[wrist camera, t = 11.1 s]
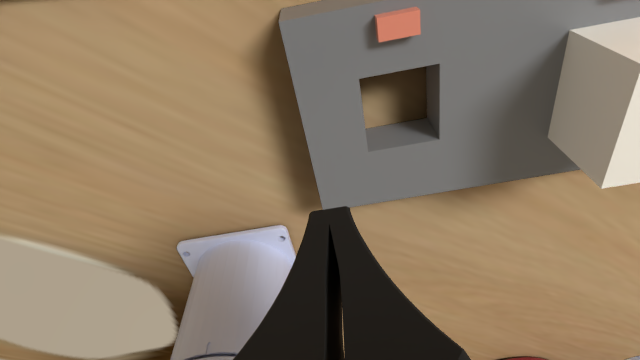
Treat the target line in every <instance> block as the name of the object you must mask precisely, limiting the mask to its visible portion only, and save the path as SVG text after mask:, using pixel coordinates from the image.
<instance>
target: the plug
mask: <svg viewBox="0 0 640 360" xmlns="http://www.w3.org/2000/svg"><path fill="white" fill-rule="evenodd" d="M548 138H549V139H550V140H551V141H552V142H553V143H554V144H555V145H556V146H557V147H558V148H559V149H560V150H561V151H562V152H563V153H565V154H566V155H567V156H568V157H569V158H570V159H571V160H572V161H573V162H574V163H575V164H576V165H577V166H578V167H579V168H580V169H581V170H582V171H583V172H584V173H585V174H586V175H588V176H589V177H590V178H591V179H592V180H593V181H594V182H595V183H596V184H597V185H598V186H599V187H600V188H608V187H614V186H621V185H627V184H633V183H640V17H637V18H632V19H626V20H621V21H615V22H610V23H605V24H599V25H594V26H589V27H583V28H578V29H573V30H570V31H569V36H568V41H567V45H566V50H565V55H564V60H563V65H562V70H561V75H560V79H559V84H558V89H557V94H556V99H555V104H554V109H553V113H552V118H551V123H550V128H549V133H548Z"/></svg>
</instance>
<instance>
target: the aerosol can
mask: <svg viewBox="0 0 640 360" xmlns="http://www.w3.org/2000/svg"><path fill="white" fill-rule="evenodd" d="M626 360H640V356H637V357H633V358H629V359H626Z"/></svg>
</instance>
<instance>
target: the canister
mask: <svg viewBox="0 0 640 360" xmlns="http://www.w3.org/2000/svg"><path fill="white" fill-rule="evenodd" d="M504 360H547V359H542V358H535V357H519V358H510V359H504Z"/></svg>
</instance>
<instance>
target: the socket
mask: <svg viewBox="0 0 640 360" xmlns="http://www.w3.org/2000/svg"><path fill="white" fill-rule="evenodd" d="M637 17H640V0H321V1H317V2H312V3H307V4H302V5H297V6H293V7H288V8H283V9H281V12H280V17H279V26H280V30H281V35H282V39H283V43H284V47H285V51H286V56H287V60H288V64H289V68H290V73H291V77H292V81H293V85H294V89H295V94H296V98H297V102H298V106H299V111H300V115H301V119H302V123H303V128H304V132H305V136H306V140H307V144H308V149H309V153H310V157H311V161H312V166H313V170H314V174H315V178H316V183H317V187H318V191H319V195H320V199H321V204H322V208H323V210H325V209H331V208H337V207H343V206H347V207H355V206H361V205H367V204H373V203H379V202H385V201H391V200H397V199H404V198H410V197H416V196H422V195H428V194H434V193H440V192H446V191H452V190H458V189H464V188H471V187H477V186H483V185H489V184H495V183H501V182H507V181H513V180H519V179H525V178H531V177H538V176H544V175H550V174H556V173H562V172H568V171H574V170H580V168H579V167H578V166H577V165H576V164H575V163H574V162H573V161H572V160H571V159H570V158H569V157H568V156H567V155H566V154H565V153H563V152H562V151H561V150H560V149H559V148H558V147H557V146H556V145H555V144H554V143H553V142H552V141H551V140H550V139H549V138H548V133H549V128H550V123H551V118H552V113H553V109H554V104H555V99H556V94H557V89H558V84H559V79H560V75H561V70H562V65H563V60H564V55H565V50H566V45H567V41H568V36H569V31H570V30H573V29H578V28H583V27H589V26H594V25H599V24H605V23H610V22H615V21H621V20H626V19H632V18H637ZM424 66H426V91H427V118H424V119H418V120H413V121H407V122H401V123H396V124H390V125H385V126H379V127H374V128H368V129H365V122H364V115H363V107H362V99H361V91H360V83H359V79H361V78H366V77H372V76H377V75H382V74H387V73H393V72H398V71H403V70H408V69H414V68H419V67H424Z"/></svg>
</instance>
